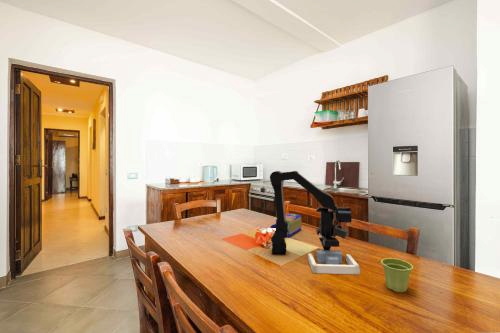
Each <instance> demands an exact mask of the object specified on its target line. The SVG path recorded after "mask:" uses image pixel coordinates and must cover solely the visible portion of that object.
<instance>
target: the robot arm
mask: <svg viewBox="0 0 500 333" xmlns="http://www.w3.org/2000/svg"><path fill="white" fill-rule="evenodd" d="M269 180H270V181H269V182H270V185H271V186H272V189H273V194H274V205H275V214H276V219H277V222H276V221H275V224H276V231H275V232H274V233H273V234H272V235H271V237H270V240H271V255H276V256H277V255H278V256H280V255H281V256H285V255H286V253H287V242H286V238H288V237H287V235H288V233H289V231H290V229H291V228H290V226H289V224H290V221H287V220H286V218H285V215H286V213H285V212H286V210H285V200H284V191H283V189H284V188H283V187H284V181H291V180H293V181H295V182H296V183H297V184H298V185H299V186H301V187H303V189H305V190H306V191H307V192H308V193H310V194H311V195H312V196H313V197H314V198H315V199H316V201H318V203H319V204H320V205H319V206H318V207H317V208H316V210H315V212H317V213H320V215H319V216H320V222H319V226H320V227H318V228H316V231H315V233H316V235H317V236H319V234H320V237H318V238H319V242H320V245H321V246H322V250H331V247H333V248H334V247H335V248H336V247H340V241H339V239H338V238H336V237H339V238H342V239H344V240H346V237H347V234H348V231H347V230H345V229H344V228H343V226H342V225H340V224H336V225H335V223H334V220H335V221H337V223H348V224H352V212H351V207H349V206H348V207H339V206H338V205H337V204H336V203H335V201H334V197H333V196H332V195H331V194H330V193H329V192H327V191H325V190H322V189H321V188H319V187H317V186H316V185H314V183H312V182H310V181H309V180H308V179H307V178H306V177H304V176H303V175H302V174H300V173H299V171H297V170H293V171H285V172H284V171H280V170H275V171H272V173H270V175H269Z"/></svg>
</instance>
